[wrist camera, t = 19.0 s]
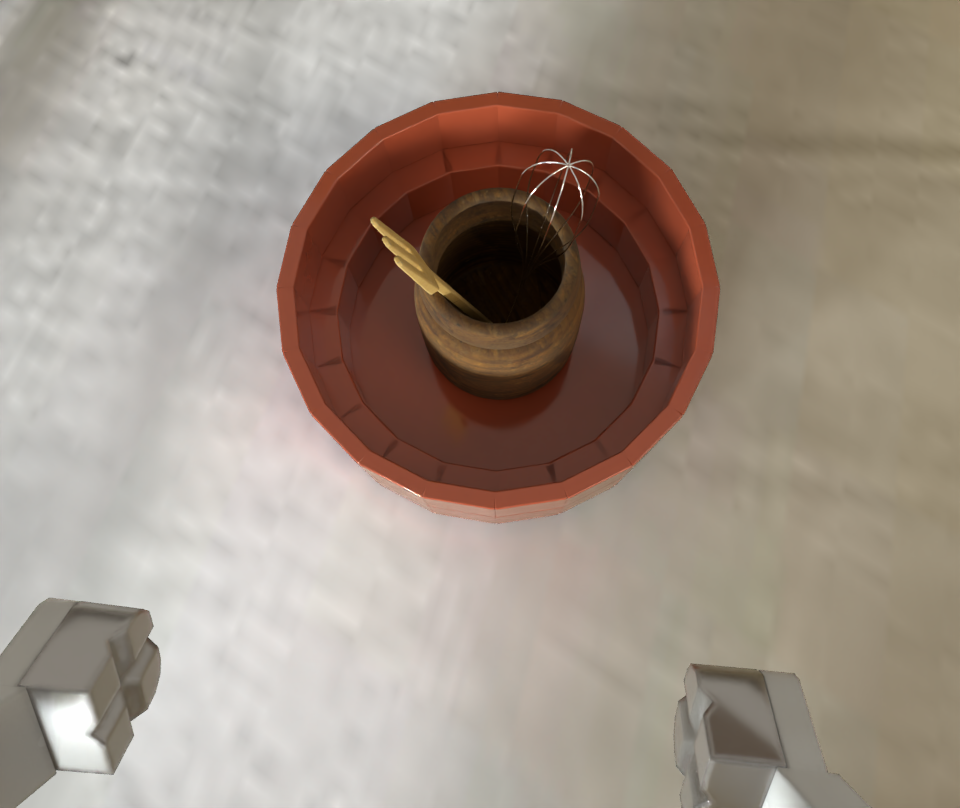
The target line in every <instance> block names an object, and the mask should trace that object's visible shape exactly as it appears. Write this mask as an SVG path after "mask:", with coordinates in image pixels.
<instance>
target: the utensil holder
mask: <svg viewBox="0 0 960 808" xmlns="http://www.w3.org/2000/svg"><path fill="white" fill-rule="evenodd" d="M545 151H553V152H555V153H556V154H558V155H559V156H560V157H561V158H562V159H563V160H564V161H565V162H564V163H560V162H552V161H548V162H540V163H537V162H538V159H539V157H540V155H541V154H542V153H543V152H545ZM572 151H573V149H572V148H571V149H570V150H569V152H568V155H567V157H566V160H565V159H564V158H563V157H562V155H560V154H559V153H558V152H557V151H555V150H552V149H545V150H543V151H542V152H541V153H540V154H539V156H538V158H537V160H536V162H535V164H534V165H532V166H530V167H528V168H527V169H526V170H524V171H523V173H522V174H521V176H520V178H519V180H518V183H517V185H516V188H515V189H512V188H487V189H482V190H477V191H474V192H471V193H468V194H466V195H464V196H462V197H460V198H458V199H456V200H455V201H453V202H451V203H450V204H449V205H447V206H446V207H445V208H444V209H443V210H442V211H441V212H440V213H439V214H438V215H437V216H436V217H435V218H434V220H433V221H432V223H431V224H430V226H429V227H428V229H427V231H426V233H425V235H424V238H423V240H422V244H421V247H420V252H419V253H418V252H417V251H416V249H415V248H414V247H413V246H412V245H411V244H410V243H408V242H407V241H406V240H404V239H403V238H402V237H401V236H399V235H398V234H397V233H395V232H394V231H393V230H391V229H390V228H389V227H388V226H386V225H385V224H384V223H382V222H381V221H380V220H378V219H377V218H376V217H372V218H371V219H370V221H371V223H372V225H373V226H374V227H375V228H376V229H377V230H378V231H379V232H380V233H381V234H382V235H383V236H384V237H383V238H382V241H383V243H384V244H385V246H386V247H387V248H388V249H389V250H390V251H391V252H393V253H394V254H395V255H396V256H395V257H394V261H395V263H396V264H397V265H398V267H400V268H401V269H402V270H403V271H404V272H405V273H406V274H407V275H409V276H410V277H411V278H412V279H413V280H414V281H415V286H414V300H415V309H416V314H417V318H418V322H419V326H420V330H421V333H422V336H423V339H424V342H425V345H426V348H427V350H428V352H429V354H430V356H431V358H432V360H433V362H434V364H435V365H436V367H437V368H438V369H439V371H440V372H441V373H442V374H443V375H444V376H445V377H446V378H447V379H448V380H449V381H450V382H451V383H452V384H454V385H455V386H457V387H458V388H460V389H461V390H463V391H465V392H467V393H469V394H472V395H475V396H477V397H481V398H486V399H493V400H507V399H514V398H519V397H522V396H526V395H528V394H531V393H533V392H535V391H537V390H539V389H540V388H542V387H543V386H545V385H546V384H548V383H549V382H550V381H551V380H552V379H553V378H554V377H555V376H556V375H557V374H558V373H559V372H560V371H561V369H562V368H563V367H564V365H565V364H566V362H567V360H568V358H569V356H570V354H571V352H572V350H573V347H574V345H575V342H576V339H577V335H578V332H579V328H580V324H581V320H582V315H583V310H584V303H585V284H584V277H583V272H582V269H581V261H580V255H579V250H578V246H577V243H576V239H575V238H576V237H578V236H579V235H580V234H581V233H582V232H583V231H584V229H585V228H586V227H587V225H588V224H589V222H590V220H591V218H592V216H593V213H594V211H595V209H596V206H597V203H598V200H599V195H600V194H599V188H598V186H597V184H596V182H595V180H594V179H593V178H592V175H593V172H594V165H593V163H592V162H591V161H589V160H580V161H576V162H573V163H571V164H570V161H571V156H572ZM570 152H571V153H570ZM569 154H570V158H569V162H568V163H567V159H568V156H569ZM579 162H589V163H591V165H592V173H591V176H590V175H589V174H588V173H586V172H585V171H583V170H581V169H579V168H577V167H575V166H572V165H573V164H575V163H579ZM544 163H555V164H562V165H563V167H562V168H560V169H558V170H557V171H555V172H554V173H552V174H551V175H549V176H548V177H547V178H546V179H544V180H543V181H542V182H541V183H540V184H539V185H538V186H537V187H536V188H535V189H534V190H533V192H532V193H528V191H529V186H530V181H531V178H532V175H533V172H534V169H535V167H536V165H539V164H544ZM565 165H566V166H565ZM568 165H569V166H568ZM533 166H534V168H533V170H532V173H531V176H530V179H529V183H528V188H527V192H525V191H522V190H518V189H517V187H518V185H519V182H520V180H521V178H522V176H523V174H524V173H525V172H526V171H527V170H528V169H530V168H531V167H533ZM566 167H567V169H566V173H565V177H564V180H563V184H562V187H561V190H560V194H559V197H558V200H557V203H556V206H555V208H554V207H553V206H551V202H552V199H553V196H554V193H555V190H556V188H557V185H558V182H559V180H560V177H561V174H562V172H563V169H564V168H566ZM571 167H572V168H575V169H577V170H579V171H581V172H583V173H585V174H586V175H587V176H589V177H590V179H589V181H588V184H587V186H586V189H585V191H584V193H583V195H582V192H581V188H580V185H579V182H578V180H577V178H576V176H575V174H574V172H573V170H572V169H571ZM568 168H569V169H570V170H571V172H572V174H573V175H574V177H575V180H576V182H577V185H578V188H579V191H580V195H581V199H580V201H579V203H578V205H577V206H576V208H575V209H574V211H573V212H572V214H571V215H570V216H569V218H568V219H567V220H565V219H564V218H563V216H562V215H561V214H560V213H559V212H558V211H557V210H556V208H557V205H558V202H559V199H560V196H561V193H562V190H563V186H564V183H565V179H566V176H567V172H568ZM560 170H561V173H560V175H559V178H558V181H557V183H556V186H555V189H554V192H553V194H552V197H551V200H550V203H547V202H546V201H544V200H543V199H541V198H539V197H537V196H535V195H533V193H534V192H535V191H536V189H537V188H538V187H539V186H540V185H541V184H542V183H543V182H545V181H546V180H547V179H548V178H549V177H551V176H552V175H554V174H555V173H557V172H558V171H560ZM591 179H592V181H593V182H594V183H595V185H596V188H597V191H598V198H597V201H596V204H595V207H594V209H593V212H592V214H591V216H590V219H589V220H588V222H587V224H586V226H585V227H584V228H583V230H582V231H581V232H580V233H579V234H578V235H577V236H576V234H577V231H578V229H579V226H580V224H581V221H582V217H583V197H584V195H585V192H586V190H587V188H588V185H589V183H590V180H591ZM580 202H582V214H581V218H580V222H579V224H578V227H577V229H576V232H575V234H573V232H572V230H571V228H570V226H569V225H568V223H567V221H568V220H569V219H570V217H571V216H572V215H573V213H574V212H575V210H576V209H577V207H578V206H579V204H580Z"/></svg>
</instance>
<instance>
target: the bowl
mask: <svg viewBox="0 0 960 808" xmlns="http://www.w3.org/2000/svg"><path fill="white" fill-rule="evenodd" d="M571 148H572V149H573V151H572V156H571V161H570V164H571V163H573V162H576V161H580V160H589V161H591V162H592V163H593V165H594V172H593V175H592V178H593V179H594V180H595V182H596V184H597V186H598V188H599V194H600V195H599V200H598V203H597V206H596V209H595V211H594V213H593V216H592V218H591V220H590V222H589V224H588V225H587V227H586V228H585V229H584V231H583V232H582V233H581V234H580V235H579V236H578V237H576V238H575V239H576V243H577V246H578V250H579V255H580V261H581V269H582V272H583V277H584V284H585V303H584V310H583V315H582V320H581V324H580V328H579V332H578V335H577V339H576V342H575V345H574V347H573V350H572V352H571V354H570V356H569V358H568V360H567V362H566V364H565V365H564V367H563V368H562V369H561V371H560V372H559V373H558V374H557V375H556V376H555V377H554V378H553V379H552V380H551V381H550V382H549V383H548V384H546V385H545V386H543V387H542V388H540V389H539V390H537V391H535V392H533V393H531V394H528V395H526V396H522V397H519V398H514V399H507V400H493V399H486V398H481V397H477V396H475V395H472V394H469V393H467V392H465V391H463V390H461V389H460V388H458V387H457V386H455V385H454V384H452V383H451V382H450V381H449V380H448V379H447V378H446V377H445V376H444V375H443V374H442V373H441V372H440V371H439V369H438V368H437V367H436V365H435V364H434V362H433V360H432V358H431V356H430V354H429V352H428V350H427V348H426V345H425V342H424V339H423V336H422V333H421V330H420V326H419V322H418V318H417V314H416V309H415V300H414V286H415V281H414V280H413V279H412V278H411V277H410V276H409V275H407V274H406V273H405V272H404V271H403V270H402V269H401V268H400V267H398V265H397V264H396V263H395V261H394V257H395V256H396V255H395V254H394V253H393V252H391V251H390V250H389V249H388V248H387V247H386V246H385V244H384V243H383V241H382V238H383V237H384V236H383V235H382V234H381V233H380V232H379V231H378V230H377V229H376V228H375V227H374V226H373V225H372V223H371V221H370V219H371V218H372V217H376V218H377V219H378V220H380V221H381V222H382V223H384V224H385V225H386V226H388V227H389V228H390V229H391V230H393V231H394V232H395V233H397V234H398V235H399V236H401V237H402V238H403V239H404V240H406V241H407V242H408V243H410V244H411V245H412V246H413V247H414V248H415V249H416V251H417V252H418V253H419V252H420V247H421V244H422V240H423V238H424V235H425V233H426V231H427V229H428V227H429V226H430V224H431V223H432V221H433V220H434V218H435V217H436V216H437V215H438V214H439V213H440V212H441V211H442V210H443V209H444V208H445V207H446V206H447V205H449V204H450V203H451V202H453V201H455V200H456V199H458V198H460V197H462V196H464V195H466V194H468V193H471V192H474V191H477V190H482V189H487V188H512V189H515V188H516V185H517V183H518V180H519V178H520V176H521V174H522V173H523V171H524V170H526V169H527V168H528V167H530V166H532V165H534V164H535V162H536V160H537V158H538V156H539V154H540V153H541V152H542V151H543V150H545V149H552V150H555V151H557V152H558V153H559V154H560V155H562V157H563V158H564V159H565V160H566V157H567V155H568V152H569V150H570V149H571ZM570 153H571V152H570ZM569 158H570V154H569V156H568V159H567V163H568V162H569ZM548 161H552V162H560V163H564V162H565V161H564V160H563V159H562V158H561V157H560V156H559V155H558V154H556V153H555V152H553V151H545V152H543V153H542V154H541V155H540V157H539V159H538V162H537V163H540V162H548ZM565 166H566V165H565ZM568 166H569V165H568ZM572 166H575V167H577V168H579V169H581V170H583V171H585V172H586V173H588V174H589V175H590V176H591V173H592V165H591V163H589V162H579V163H575V164H573V165H572ZM562 167H563V165H562V164H555V163H544V164H539V165H536V167H535V169H534V172H533V175H532V178H531V181H530V186H529V191H528V193H532V192H533V190H534V189H535V188H536V187H537V186H538V185H539V184H540V183H541V182H542V181H543V180H544V179H546V178H547V177H548V176H549V175H551V174H552V173H554V172H555V171H557V170H558V169H560V168H562ZM533 168H534V166H533V167H531V168H530V169H528V170H527V171H526V172H525V173H524V174H523V176H522V178H521V180H520V182H519V185H518V187H517V189H518V190H522V191H525V192H527V188H528V183H529V179H530V176H531V173H532V170H533ZM566 169H567V167H566V168H564V169H563V172H562V174H561V177H560V180H559V182H558V185H557V188H556V190H555V193H554V196H553V199H552V202H551V206H553V207H554V208H555V206H556V203H557V200H558V197H559V194H560V190H561V187H562V184H563V180H564V177H565V173H566ZM571 169H572V170H573V172H574V174H575V176H576V178H577V180H578V182H579V185H580V188H581V192H582V195H583V193H584V191H585V189H586V186H587V184H588V181H589V179H590V177H589V176H587V175H586V174H585V173H583V172H581V171H579V170H577V169H575V168H572V167H571ZM560 173H561V170H560V171H558V172H557V173H555V174H554V175H552V176H551V177H549V178H548V179H547V180H546V181H545V182H543V183H542V184H541V185H540V186H539V187H538V188H537V189H536V191H535V192H534V193H533V195H535V196H537V197H539V198H541V199H543V200H544V201H546V202H547V203H550V200H551V197H552V194H553V192H554V189H555V186H556V183H557V181H558V178H559V175H560ZM597 198H598V191H597V188H596V185H595V183H594V182H593V181H592V179H591V180H590V183H589V185H588V188H587V190H586V192H585V195H584V197H583V217H582V221H581V224H580V226H579V229H578V231H577V234H576V236H577V235H578V234H579V233H580V232H581V231H582V230H583V228H584V227H585V226H586V224H587V222H588V220H589V219H590V216H591V214H592V212H593V209H594V207H595V204H596V201H597ZM580 199H581V195H580V191H579V188H578V185H577V182H576V180H575V177H574V175H573V174H572V172H571V170H570V169H569V168H568V172H567V176H566V179H565V183H564V186H563V190H562V193H561V196H560V199H559V202H558V205H557V208H556V210H557V211H558V212H559V213H560V214H561V215H562V216H563V218H564V219H565V220H567V219H568V218H569V216H570V215H571V214H572V212H573V211H574V209H575V208H576V206H577V205H578V203H579V201H580ZM581 214H582V202H580V204H579V206H578V207H577V209H576V210H575V212H574V213H573V215H572V216H571V217H570V219H569V220H568V221H567V223H568V225H569V226H570V228H571V230H572V232H573V234H575V232H576V229H577V227H578V224H579V222H580V218H581ZM276 290H277V300H278V311H279V322H280V332H281V343H282V352H283V355H284V358H285V360H286V362H287V364H288V366H289V369H290V371H291V373H292V375H293V377H294V379H295V382H296V384H297V386H298V388H299V390H300V393H301V395H302V397H303V399H304V401H305V404H306V406H307V408H308V410H309V412H310V414H311V415H312V416H313V418H314V419H315V420H316V421H317V422H318V423H319V424H320V425H321V426H322V427H323V428H324V429H325V430H326V431H327V432H328V433H329V434H330V435H331V436H332V437H333V439H334V440H335V441H336V442H337V443H338V444H339V445H340V446H341V447H342V448H343V449H344V450H345V451H346V452H347V453H348V454H349V455H350V456H351V457H352V458H353V459H354V461H355V462H356V463H357V464H358V465H359V466H361V467H362V468H363V469H364V470H365V471H366V472H367V473H368V474H369V475H370V476H371V477H372V478H373V479H374V480H375V481H376V482H378V483H379V484H380V485H381V486H383V487H385V488H387V489H389V490H391V491H393V492H395V493H396V494H398V495H400V496H402V497H404V498H406V499H408V500H410V501H412V502H414V503H415V504H417V505H419V506H421V507H423V508H425V509H427V510H429V511H431V512H433V513H436V514H441V515H447V516H453V517H459V518H464V519H470V520H476V521H482V522H488V523H494V524H495V523H498V524H499V523H505V522H512V521H519V520H525V519H532V518H539V517H545V516H552V515H558V514H559V513H563V512H565V511H567V510H569V509H571V508H573V507H575V506H577V505H578V504H580V503H582V502H584V501H586V500H588V499H590V498H592V497H594V496H596V495H598V494H600V493H602V492H604V491H606V490H608V489H610V488H612V487H613V486H614V485H616V484H618V483H619V482H620V481H621V480H622V478H623V477H624V476H625V475H626V474H627V473H628V472H629V471H630V470H631V469H632V468H633V467H634V466H635V465H636V464H637V463H638V462H639V461H640V460H641V459H642V458H643V457H644V456H645V455H646V454H647V453H648V452H649V451H650V450H651V449H652V448H653V447H654V446H655V445H656V444H657V443H658V442H659V441H660V440H661V439H662V438H663V437H664V436H665V435H666V434H667V432H668V431H669V430H670V429H671V428H672V427H673V426H674V425H675V424H676V423H677V422H678V421H679V420H680V419H681V418H682V416H683V415H684V413H685V411H686V409H687V407H688V405H689V403H690V401H691V399H692V397H693V395H694V393H695V390H696V388H697V386H698V384H699V382H700V380H701V378H702V376H703V374H704V372H705V370H706V367H707V365H708V363H709V361H710V359H711V357H712V354H713V350H714V341H715V332H716V322H717V313H718V304H719V295H720V284H719V280H718V276H717V271H716V267H715V263H714V258H713V254H712V250H711V245H710V241H709V237H708V232H707V228H706V225H705V222H704V221H703V219H702V218H701V216H700V214H699V213H698V211H697V209H696V208H695V206H694V205H693V203H692V201H691V200H690V198H689V196H688V195H687V193H686V192H685V190H684V188H683V187H682V185H681V183H680V182H679V180H678V179H677V177H676V175H675V174H674V172H673V170H672V169H670V167H669V166H667V165H666V164H665V163H664V162H663V161H662V160H660V159H659V158H658V157H657V156H656V155H655V154H653V153H652V152H651V151H650V150H649V149H648V148H646V147H645V146H644V145H643V144H642V143H641V142H639V141H638V140H637V139H636V138H635V137H634V136H632V135H631V134H630V133H629V132H628V131H627V130H625V129H624V128H623V127H622V128H621V126H620V125H617V124H615V123H613V122H611V121H608V120H606V119H604V118H601V117H599V116H597V115H595V114H592V113H590V112H588V111H585V110H583V109H581V108H579V107H576V106H574V105H572V104H570V103H567V102H565V101H563V102H562V100H557V99H550V98H542V97H534V96H527V95H519V94H512V93H504V92H498V93H497V92H493V93H487V94H480V95H473V96H466V97H460V98H453V99H446V100H439V101H434V102H430V103H428V104H426V105H424V106H422V107H419V108H417V109H415V110H413V111H411V112H408V113H406V114H404V115H402V116H400V117H397V118H395V119H393V120H391V121H389V122H386V123H384V124H382V125H380V126H378V127H376V128H375V129H373V130H372V131H370V132H369V133H368V134H367V135H366V136H365V137H364V138H362V139H361V140H360V141H359V142H358V143H357V144H355V145H354V146H353V147H352V148H351V149H350V150H349V151H347V152H346V153H345V154H344V155H343V156H342V157H340V158H339V159H338V160H337V161H336V162H335V163H334V164H332V165H331V166H330V167H329V168H328V169H327V170H326V171H325V172H324V174H323V175H322V177H321V179H320V180H319V182H318V183H317V185H316V187H315V188H314V190H313V192H312V193H311V195H310V196H309V198H308V200H307V201H306V203H305V205H304V206H303V208H302V209H301V211H300V213H299V214H298V216H297V217H296V219H295V221H294V222H293V226H291V229H290V233H289V238H288V242H287V246H286V250H285V254H284V258H283V263H282V267H281V271H280V275H279V279H278V283H277V289H276Z"/></svg>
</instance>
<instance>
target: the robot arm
mask: <svg viewBox="0 0 960 808" xmlns="http://www.w3.org/2000/svg"><path fill="white" fill-rule="evenodd" d="M153 627H154V626H153V622H152V619H151V615H150V612H149V611H148V610H144V609H138V608H130V607H123V606H115V605H107V604H99V603H91V602H84V601H72V600H64V599H56V598H48V599H46V600H45V601H43V602H42V603H40V604H39V605H38V606H37V607H36V608H35V610H34V611H33V612H32V614H31V615H30V616H29V618H28V619H27V620H26V622H25V623H24V624H23V626H22V627H21V628H20V630H19V631H18V632H17V634H16V635H15V636H14V638H13V639H12V640H11V642H10V643H9V644H8V646H7V647H6V648H5V650H4V651H3V652H2V654H1V655H0V808H16V807H17V806H18V805H19V804H21V803H22V802H23V801H24V800H25V799H27V798H28V797H29V796H30V795H31V794H33V793H34V792H35V791H36V790H37V789H39V788H40V787H41V786H42V785H43V784H45V783H46V782H47V781H48V780H49V779H51V778H52V777H53V776H54V775H55V774H56V770H60V771H72V772H84V773H96V774H109V775H114V773H115V771H116V769H117V767H118V765H119V763H120V761H121V759H122V757H123V755H124V754H125V752H126V750H127V748H128V746H129V744H130V742H131V740H132V738H133V736H134V733H133V730H132V726H131V722H130V721H132V720H133V719H135V718H136V717H137V716H139V715H140V714H142V713H143V712H145V711H146V710H147V709H148V707H149V705H150V703H151V701H152V699H153V697H154V695H155V693H156V689H157V685H158V681H159V677H160V672H161V658H160V653H159V648H158V646H157V645H155V644H154V643H153V642H152V641H151V640H150V639H149V638H148V636H149V634H150V632H151V630H152V629H153ZM684 685H685V692H686V696H685V697H683V698H682V699H681V700H679V701H678V705H677V710H676V714H675V723H674V753H675V762H676V767H677V768H678V769H679V771H680V772H681V773H682V774H683V775H684V781H683V785H682V788H681V792H680V801H681V808H872V807H871V806H870V805H869V804H868V803H867V802H866V801H865V800H864V799H863V798H862V797H861V796H860V795H859V794H858V793H857V792H856V791H855V790H854V789H853V788H852V787H851V786H850V785H849V784H848V783H847V782H846V781H845V780H844V779H843V778H842V777H841V776H840V775H839V774H834V773H828V770H827V767H826V764H825V761H824V757H823V754H822V751H821V748H820V744H819V741H818V738H817V735H816V731H815V728H814V725H813V722H812V718H811V715H810V712H809V709H808V706H807V702H806V699H805V696H804V693H803V689H802V686H801V683H800V680H799V678H798V677H797V676H796V675H795V673H786V672H775V671H765V670H759V671H758V670H757V669H748V668H736V667H725V666H714V665H703V664H690V665H689V667H688V668H687V671H686V675H685V678H684Z"/></svg>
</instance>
